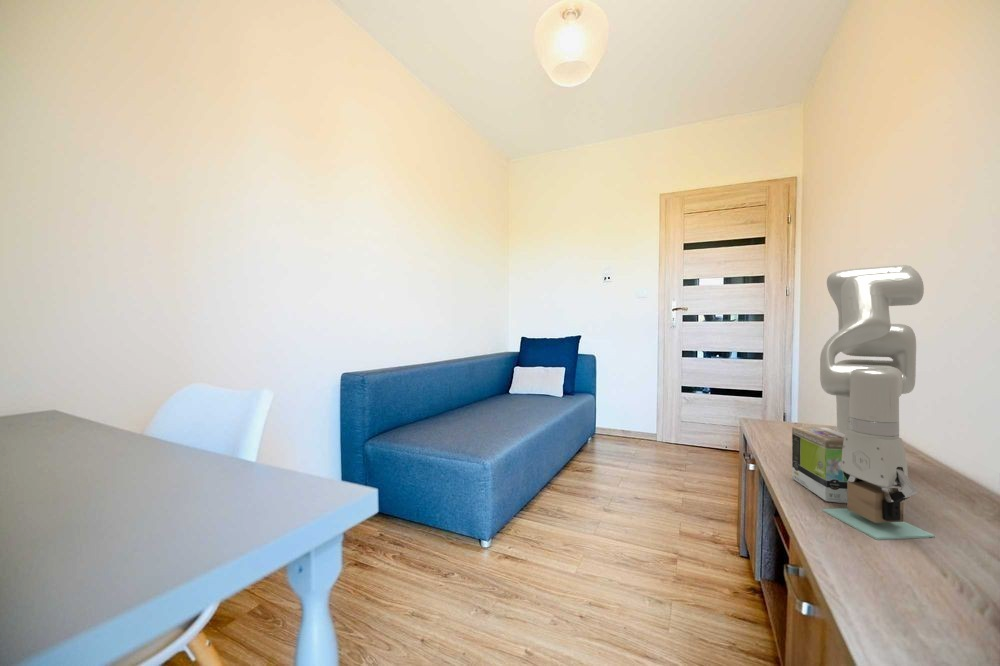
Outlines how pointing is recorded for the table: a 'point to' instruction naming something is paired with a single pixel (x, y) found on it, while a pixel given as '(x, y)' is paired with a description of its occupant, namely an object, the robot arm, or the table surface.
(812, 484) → the tea box
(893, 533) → the teal pad
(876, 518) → the walnut cube
